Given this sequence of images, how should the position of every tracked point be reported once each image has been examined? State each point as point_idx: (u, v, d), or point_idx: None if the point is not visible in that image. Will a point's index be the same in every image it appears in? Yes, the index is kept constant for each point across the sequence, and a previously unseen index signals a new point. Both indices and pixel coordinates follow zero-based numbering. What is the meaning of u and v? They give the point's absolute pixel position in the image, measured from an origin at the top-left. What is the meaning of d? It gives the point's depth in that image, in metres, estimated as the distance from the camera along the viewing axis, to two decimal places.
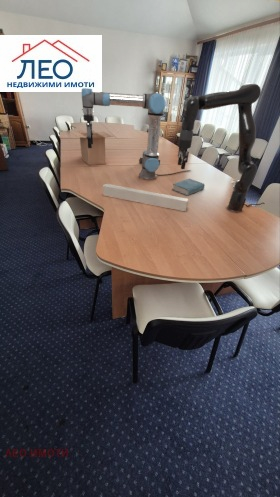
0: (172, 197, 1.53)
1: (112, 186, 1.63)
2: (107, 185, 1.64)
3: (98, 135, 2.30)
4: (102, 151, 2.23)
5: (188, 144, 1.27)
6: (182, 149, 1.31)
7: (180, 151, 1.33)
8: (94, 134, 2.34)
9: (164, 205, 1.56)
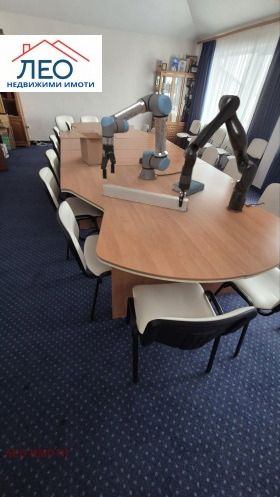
0: (172, 197, 1.53)
1: (112, 186, 1.63)
2: (107, 185, 1.64)
3: (98, 135, 2.30)
4: (102, 151, 2.23)
5: (185, 187, 1.43)
6: None
7: (180, 191, 1.49)
8: (94, 134, 2.34)
9: (164, 205, 1.56)
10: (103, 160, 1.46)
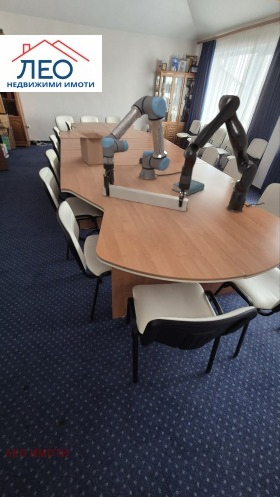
0: (172, 197, 1.53)
1: (112, 186, 1.63)
2: None
3: (98, 135, 2.30)
4: (102, 151, 2.23)
5: (185, 187, 1.43)
6: None
7: (180, 191, 1.49)
8: (94, 134, 2.34)
9: (164, 205, 1.56)
10: (105, 180, 1.55)
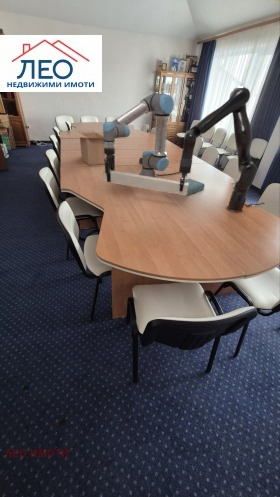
0: (173, 181, 1.54)
1: (113, 172, 1.63)
2: None
3: (98, 135, 2.30)
4: (102, 151, 2.23)
5: (186, 170, 1.43)
6: (182, 173, 1.48)
7: (181, 175, 1.50)
8: (94, 134, 2.34)
9: (165, 190, 1.56)
10: (106, 165, 1.56)
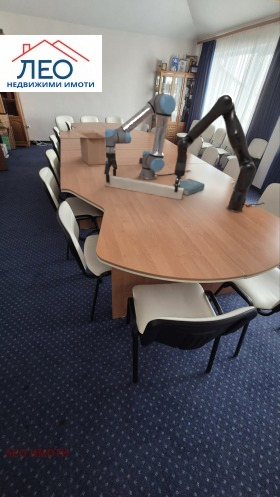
0: (169, 187, 1.69)
1: (114, 177, 1.78)
2: (110, 176, 1.80)
3: (98, 135, 2.30)
4: (102, 151, 2.23)
5: (180, 173, 1.57)
6: (177, 176, 1.62)
7: (176, 177, 1.64)
8: (94, 134, 2.34)
9: (162, 194, 1.72)
10: (106, 166, 1.68)
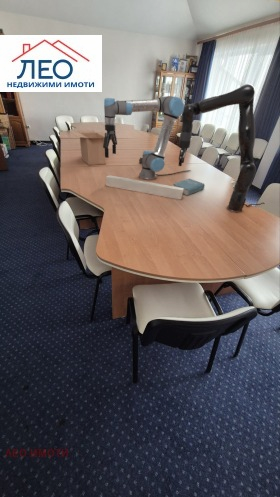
0: (169, 187, 1.69)
1: (114, 177, 1.78)
2: (110, 176, 1.80)
3: (98, 135, 2.30)
4: (102, 151, 2.23)
5: (185, 144, 1.46)
6: None
7: None
8: (94, 134, 2.34)
9: (162, 194, 1.72)
10: (105, 139, 1.56)
